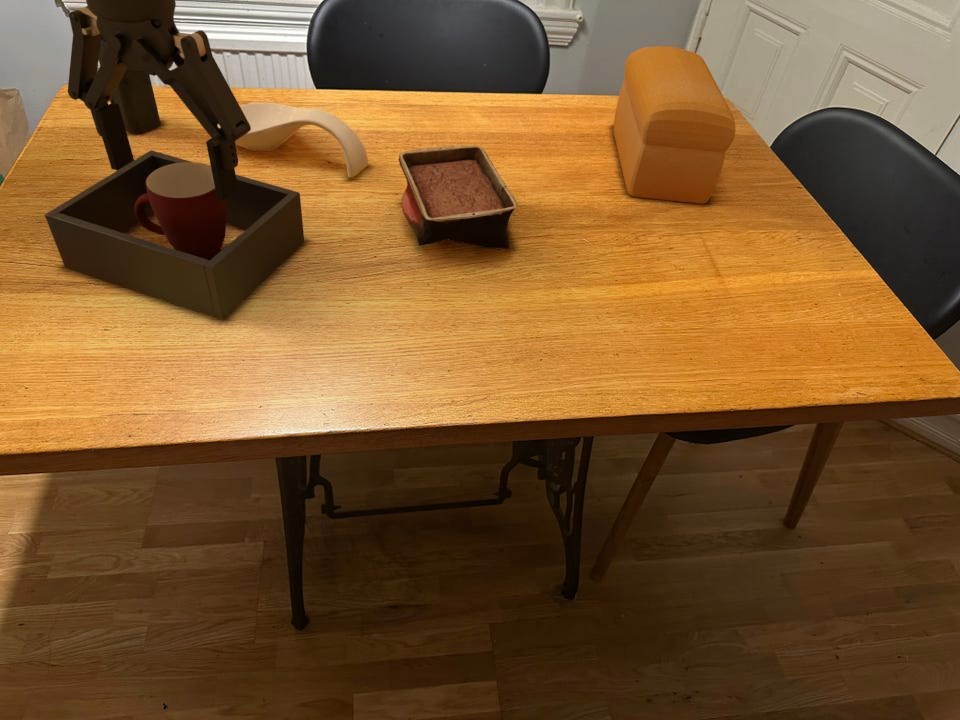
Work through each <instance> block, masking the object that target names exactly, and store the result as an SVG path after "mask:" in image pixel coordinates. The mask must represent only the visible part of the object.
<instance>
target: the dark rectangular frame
mask: <svg viewBox="0 0 960 720" xmlns="http://www.w3.org/2000/svg"><path fill="white" fill-rule="evenodd" d="M180 162H192V161H191V160H187V159H184V158H180V157H177V156H173V155H170V154H166V153H162V152H159V151H156V150H151V149H150V150H149V151H147V152H146V153H144V154H142V155H141V156H139V157H137V158H136V159H134V161H132V162H131V163H129V164H127V165H126V166H124V167H122V168H121V169H119V170H115V171H114V172H113V173H111V174H109V175H107V176H105V177H104V178H103V179H101V180H99V181H98V182H96V183H94V184H92V185H90V186H89V187H88V188H86V189H84V190H82V191H81V192H79V193H77V194H76V195H74V196H73V197H71V198H70V199H68V200H66V201H65V202H63V203H61V204H60V205H58V206H56V207H54V208H53V209H51V210H49V211H48V212H46V213H44V217H45V220H46V223H47V225H48V228H49V231H50V233H51V235H52V236H51V237H52V238H53V241H54V243H55V246H56V248H57V251H58V254H59V256H60V259H61V261H62V263H63V264H62V265H63V266H64V268H65V269H69V270H72V271H75V272H77V273H81V274H84V275H85V276H86V275H87V276H90V277H92V278H96V279H99V280H101V281H105V282H107V283H111V284H114V285H116V286H120V287H122V288H126V289H128V290H132V291H134V292H138V293H141V294H143V295H147V296H149V297H151V298H152V297H153V298H156V299H159V300H162V301H165V302H167V303H170V304H174V305H176V306H179V307H183V308H185V309H189V310H192V311H195V312H197V313H200V314H204V315H207V316H209V317H212V318H216V319H219V320H222V321H224V320H225V319H226V318H227V317H228V316H229V315H230V314H231V313H233V311H235V309H237V307H239V305H241V304H242V303H243V302H244V301H245V300H246V299H247V298H248V297H249V296H251V294H252V293H253V292H254V291H255V290H256V289H257V288H259V286H260V285H261V284H262V283H263V282H265V281H266V280H267V279H268V278H269V277H270V276H271V275H272V274H273V273H274V272H275V271H276V270H277V269H278V268H279V267H280V266H281V265H282V264H283V263H284V262H285V261H287V259H289V257H290V256H292V255H293V254H294V253H295V252H296V251H297V250H298V249H299V248H300V247H301V246H302V245H303V244H304V243H305V234H304V223H303V212H302V201H301V193H300V192H299V191H297V190H292V189H288V188H286V187H281V186H278V185H275V184H271V183H267V182H265V181H260V180H256V179H254V178H251V177H246V176H243V175H239V174H236V179H237V185H238V190H237V191H235V192H234V193H233V194H232V195H230V196H229V197H228V198H226V200H227V209H226V224H228V225H230V226H231V225H232V226H234V227H237V228H241V229H245V230H244V231H243V232H242V233H240V234H239V235H238V236H237V237H235V239H234V240H232V241H231V242H230V243H229V244H228V245H227V246H225V247H224V248H222V249H221V250H220V252H219V253H218V254H217V255H216V256H215V257H213V258H212V259H211V260H210V261H209V260H207V259H204V258H200V257H197V256H194V255H191V254H188V253H185V252H181V251H178V250H175V249H174V248H173V247H168V246H165V245H162V244H160V243H156V242H153V241H150V240H146V239H143V238H141V237H137V236H134V235H130V234H127V231H129V230H131V229H132V228H133V227H135V226H137V225H138V224H140V223H139V222H138V220H137V218H136V216H135V212H134V206H135V203H136V201H137V199H138V198H139V197H140V196H141V195H143V194H147V189H146V179H147V177H148V176H149V175H150V174H151V173H152V172H153V171H155V170H156V169H158V168H160V167H163V166H166V165H169V164H174V163H180ZM145 212H146V215H147V216H148V217H149V216H150V215H152V214H154V212H153V209H152V207H151V204H146V205H145Z"/></svg>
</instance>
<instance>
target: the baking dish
mask: <svg viewBox="0 0 960 720" xmlns="http://www.w3.org/2000/svg"><path fill="white" fill-rule="evenodd" d="M397 160H398V162H399V166H400V169H401V170H402V172H403V175H404V177H405V180H406V187H405V190H404V191H403V194H402V196H401V210H402V213H403V215H404V216H405V218H406V220H407V222H408V224H409V226H410V228H411V230H412V232H413V234H414V237H415V239H416V242H417V244H418V247H423V246H427V245H432V244H436V243H440V242H444V241H451V242H455V243H460V244H465V245H469V246H475V247H478V248H479V247H480V248H483V249H509V248H510V243H509V235H508V229H509V225H510V224H509V223H510V219H511V216H512V214H513V213H514V211H515V209H516V208H517V207H518V206H519V205H518V202H517V200H516V197H515V196H514V195H513V193H511V191H510V189H509V188H508V187H507V185H506V183H505V182H504V180H503V179H502V177H501V175H500V174H499V172H498V170H497V168H496V167H495V166H494V164H493V162H492V160H491V159H490V157H489V155H488V154H487V151H485V149H484V148H483V147H482V146H479V145H475V144H474V145H450V146H439V147H437V146H436V147H427V148H419V149H413V150H412V149H411V150H406V151H403V152H401V153H399V155H398V159H397Z"/></svg>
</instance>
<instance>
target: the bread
mask: <svg viewBox="0 0 960 720" xmlns="http://www.w3.org/2000/svg"><path fill="white" fill-rule="evenodd" d="M623 73H624V74H623V79H624V80H623V82H622V85H621V87H620V92H619V95H618V99H617V102H616V107H615V112H614V119H613V135H614V141H615V145H616V149H617V152H618V153H617V154H618V158H619V163H620V166H621V171H622V175H623V181H624V185H625V189H626V191H627V193H628V195H630V196H631V197H635V198H643V199H652V200H653V199H654V200H662V201H671V202H672V201H673V202H683V203H691V204H706V203H708V201H709V199H710V198H711V197H712V195H713V193H714V191H715V189H716V186H717V184H718V181H719V178H720V174H721V172H722V170H723V169H722V168H723V166H724V162H725V158H726V153H727V151H728V150H729V148H730V147H731V145H732V144H733V141H734V139H735V135H736V131H737V129H736V121H735V117H734V115H733V113H732V110H731V109H730V107H729V105H728V103H727V101H726V99H725V96H724V95H723V93H722V91H721V89H720V88H719V86H718V84H717V82H716V80H715V78H714V76H713V75H712V73H711V71H710V69H709V67H708V64H707V63H706V62H705V60H704V58H703V57H702V55H700V54H698V53H696V52H694V51H691V50H687V49H683V48H680V47H676V46H671V45H670V46H666V45H659V46H658V45H657V46H647V47H641V48H639V49H637V50H635V51H633V52H631V53H630V55H629V56H628V57H627V59H626V62H625V64H624V71H623Z"/></svg>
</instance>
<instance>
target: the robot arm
mask: <svg viewBox="0 0 960 720" xmlns="http://www.w3.org/2000/svg"><path fill="white" fill-rule="evenodd" d="M85 3H86V6H84V7H81V8H78V9H75V10H72V11H69V13H68V17H69V22H70V27H71V31H72V41H71V43H72V44H71V52H70V53H71V54H70V63H69V72H68V73H69V74H68V84H67V94H68V96H69V97H70V98H71V99H72V100H73V101H77V100H80V101H81V102H83V103H84V106H85V107H86V108H87V109H88V110H90V113H91V117H92V120H93V122H94V126H95V129H96V132H97V134H98V135H99V137H101V138H102V141H103V145H104V148H105V152H106V155H107V158H108V162H109V165H110V168H111V170H114V171H117V170H119V169H121V168H122V167H124V166H126V165H127V164H129V163H131V162H132V161H134V160H135V157H134V155H133V151H132V147H131V143H130V140H129V136H128V133H127V130H126V129H125V125H124V122H123V118H122V115H121V111H120V107H119V104H116V103H110V101H111V100H113V99H115V97H114V98H112V96H113V94H114V92H115V90H116V88H117V87H118V85H119V83H120V81H121V79H122V77H123V75H124V73H125V71H126V70H127V68H128V69H129V70H133V71H139V70H141V71H143V72H145V73H146V74H149V75H150V76H153V77H155V76H157V78H158V79H159V80H160V82H161V83H163V84H164V85H166V86H169V87H170V88H171V89H172V90H173V92H174V93H175V94H176V96H177V97H178V98H179V99H180V100H181V102H182V103H183V104H184V105H185V107H186V108H187V109H188V111H189V112H190V113H191V114H192V115H193V117H194V118H195V119H196V120H197V122H198V123H199V124H200V125H201V126H202V128H203V129H204V130H205V132H206V133H207V134H208V135H209V137H210V138H209V139H208V140H206V141H205V144H206V150H207V154H208V159H209V165H210V166H211V170H212V175H213V180H214V185H215V190H216V195H217V199H219V200H223V201H224V200H225V199H226V198H228V197H229V196H230V195H232V194H233V193H234V192H235V191H237V190H238V185H237V179H236V175H237V174H236V167H238V165H239V156H238V151H237V145H236V144H235V141H236V140H237V139H239V138H241V137H242V136H243V135H245V134H246V133H248V132H249V131H250V130H251V127H250V124H249V122H248V121H247V119H246V117H245V115H244V113H243V111H242V109H241V108H240V106H239V105H240V103H239V102H238V100H237V99H236V97H235V95H234V92H233V91H232V89H231V87H230V85H229V83H228V81H227V79H226V78H225V75H224V74H223V73H222V71H221V69H220V67H219V65H218V63H217V61H216V60H215V58H214V55H213V53H212V48H211V44H210V41H209V36H208V34H207V33H206V32H205V31H204V30H202V29H200V30H197V31H195V32H193V33H187V32H180V31H179V29H178V27H177V24H176V23H175V17H174V16H175V10H176V7H177V5H176V3H177V2H176V0H85ZM102 36H103V38H104V39H105V40H106V42H107V44H108V45H107V47H106V50H105V52H104V54H103V56H102V58H101V61H102V64H101V66H100V65H99V53H100V46H101V37H102ZM173 64H175V66H176V67H175V68H173V69H171V68H172V67H173ZM218 124H219V125H220V127H221V128H218Z"/></svg>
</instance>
